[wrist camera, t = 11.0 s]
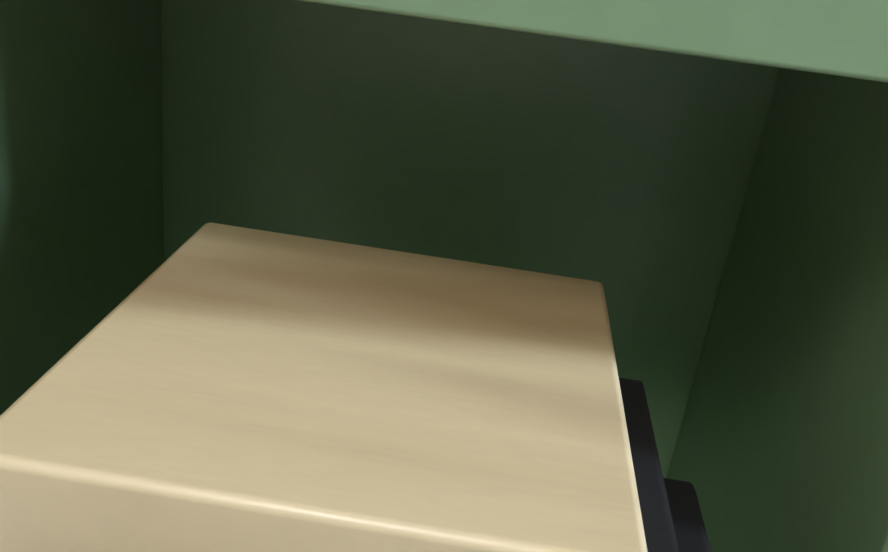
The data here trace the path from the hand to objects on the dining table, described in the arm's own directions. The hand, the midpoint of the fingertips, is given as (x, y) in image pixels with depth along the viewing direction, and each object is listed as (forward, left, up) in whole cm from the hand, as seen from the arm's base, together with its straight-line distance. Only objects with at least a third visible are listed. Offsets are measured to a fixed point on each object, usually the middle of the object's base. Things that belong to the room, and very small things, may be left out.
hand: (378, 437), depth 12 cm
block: (0, 0, 0) cm, 0 cm away
